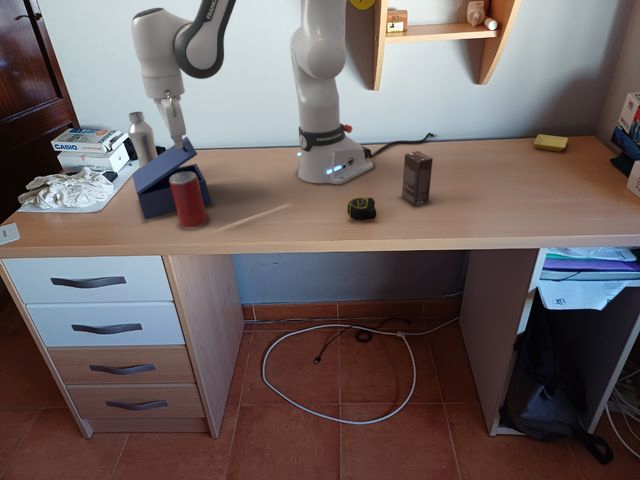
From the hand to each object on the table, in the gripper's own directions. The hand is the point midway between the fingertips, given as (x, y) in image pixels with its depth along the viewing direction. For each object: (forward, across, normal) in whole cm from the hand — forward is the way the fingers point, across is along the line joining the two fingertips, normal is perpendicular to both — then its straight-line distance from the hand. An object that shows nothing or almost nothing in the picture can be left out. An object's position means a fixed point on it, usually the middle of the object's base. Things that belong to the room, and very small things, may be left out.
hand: (177, 142), depth 112 cm
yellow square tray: (+15, -21, -108) cm, 111 cm away
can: (+16, -13, +1) cm, 21 cm away
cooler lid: (+5, 0, +4) cm, 7 cm away
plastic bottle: (+16, +19, +7) cm, 26 cm away
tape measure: (+16, -30, -37) cm, 50 cm away
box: (+16, -30, -52) cm, 62 cm away
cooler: (+16, 0, +4) cm, 17 cm away
